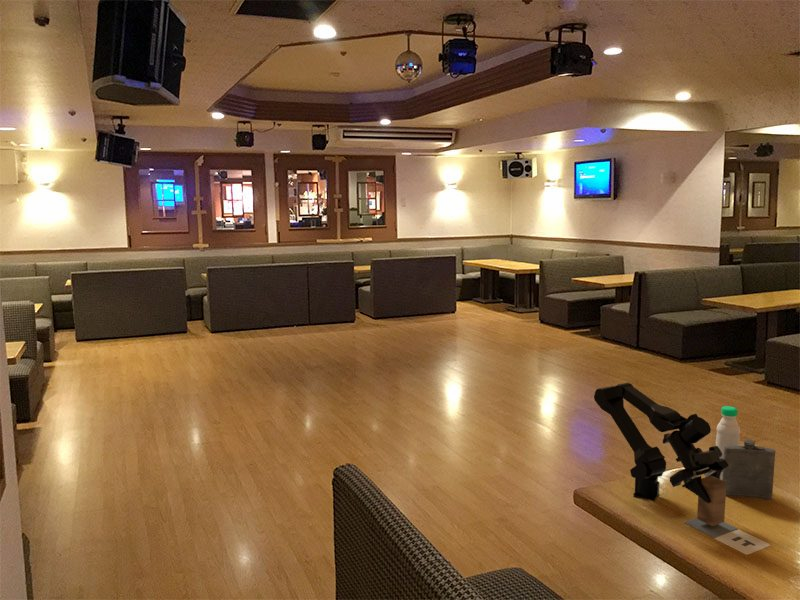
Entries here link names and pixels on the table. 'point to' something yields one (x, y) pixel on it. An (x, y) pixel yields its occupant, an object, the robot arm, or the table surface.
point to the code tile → (742, 541)
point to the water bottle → (727, 430)
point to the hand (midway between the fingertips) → (716, 500)
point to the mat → (711, 527)
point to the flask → (749, 471)
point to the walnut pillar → (712, 501)
